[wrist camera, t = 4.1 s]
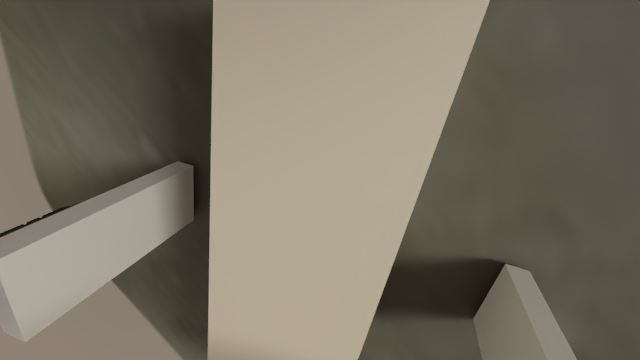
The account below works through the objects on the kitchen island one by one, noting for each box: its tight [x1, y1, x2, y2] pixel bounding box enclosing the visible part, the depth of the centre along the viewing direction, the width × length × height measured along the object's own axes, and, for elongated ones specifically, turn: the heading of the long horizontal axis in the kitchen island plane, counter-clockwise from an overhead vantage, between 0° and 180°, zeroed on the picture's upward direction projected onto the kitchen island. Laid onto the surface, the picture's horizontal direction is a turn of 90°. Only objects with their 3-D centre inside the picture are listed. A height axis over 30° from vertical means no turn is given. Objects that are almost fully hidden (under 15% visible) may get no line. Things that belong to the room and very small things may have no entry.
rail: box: [208, 0, 490, 360], centre depth 9 cm, size 16×4×5 cm, turn 170°
